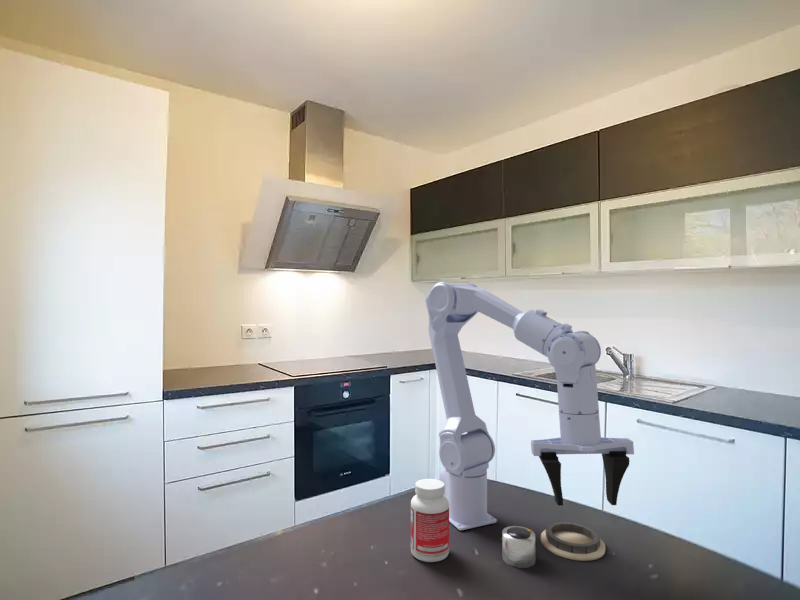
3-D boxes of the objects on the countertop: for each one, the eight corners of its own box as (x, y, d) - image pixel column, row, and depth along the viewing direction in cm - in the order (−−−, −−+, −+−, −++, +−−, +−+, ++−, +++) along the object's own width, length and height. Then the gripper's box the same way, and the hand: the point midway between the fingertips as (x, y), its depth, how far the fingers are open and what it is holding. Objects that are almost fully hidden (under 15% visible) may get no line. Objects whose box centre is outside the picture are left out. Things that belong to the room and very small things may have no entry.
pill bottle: (457, 556, 73) (457, 485, 73) (426, 568, 69) (426, 494, 69) (433, 539, 78) (433, 473, 78) (403, 550, 74) (403, 481, 74)
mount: (528, 536, 79) (528, 525, 79) (572, 525, 83) (572, 515, 83) (571, 566, 70) (571, 554, 70) (619, 552, 74) (619, 541, 74)
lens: (495, 554, 73) (495, 528, 73) (521, 548, 75) (521, 522, 75) (515, 571, 69) (515, 543, 69) (542, 563, 71) (542, 536, 71)
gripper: (534, 417, 67) (541, 513, 66) (639, 414, 65) (647, 513, 64) (526, 409, 74) (532, 495, 73) (620, 406, 72) (627, 495, 71)
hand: (585, 502), depth 69 cm, fingers open, 7 cm apart
